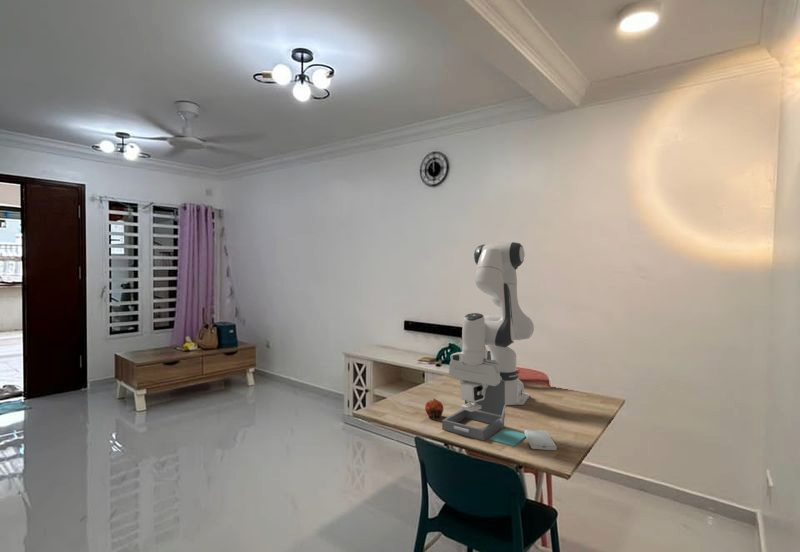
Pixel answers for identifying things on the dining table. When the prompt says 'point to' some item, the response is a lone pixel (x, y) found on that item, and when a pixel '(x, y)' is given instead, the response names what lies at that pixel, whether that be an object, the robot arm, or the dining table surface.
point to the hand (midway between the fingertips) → (474, 393)
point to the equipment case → (481, 415)
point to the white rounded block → (471, 395)
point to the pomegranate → (434, 408)
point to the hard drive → (540, 440)
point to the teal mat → (508, 437)
